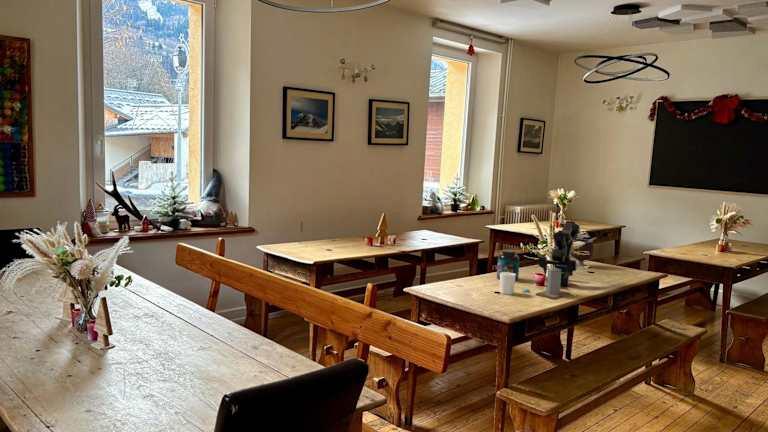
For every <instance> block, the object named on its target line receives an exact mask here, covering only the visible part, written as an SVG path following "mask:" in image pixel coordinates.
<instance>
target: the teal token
mask: <svg viewBox="0 0 768 432" xmlns="http://www.w3.org/2000/svg"><path fill="white" fill-rule="evenodd" d="M522 293H525V294H526V293H527V294H528V293H530V289H528V288H527V289H525V288H524V289H522Z"/></svg>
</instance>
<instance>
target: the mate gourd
mask: <svg viewBox="0 0 768 432" xmlns="http://www.w3.org/2000/svg"><path fill="white" fill-rule="evenodd" d="M596 239H597V237H594V238H591V239H585V238H584V239H583V238H576V239H575V240H574V241H582V242H585V243H586V244H585V245H583V246H582V247H581V248H579V250H583V251H589V252H590V255H577V254H571V255H570V256H572V258H573V259H574V260H577V261H578V263H577V267H581V266H582V267H584V266H587V265H588V264H585V263H584V262H585V261H588V260H590V259H591V258H592V256H593V254H594V249H595V248H594V240H596Z"/></svg>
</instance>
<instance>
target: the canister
mask: <svg viewBox="0 0 768 432" xmlns="http://www.w3.org/2000/svg"><path fill="white" fill-rule="evenodd" d="M546 277H547V278H546V290H545V291H546V293H548V294H553V295H558V294H560V291H561V286H560V284H561V269H560V268H555V267H547V275H546Z"/></svg>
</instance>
